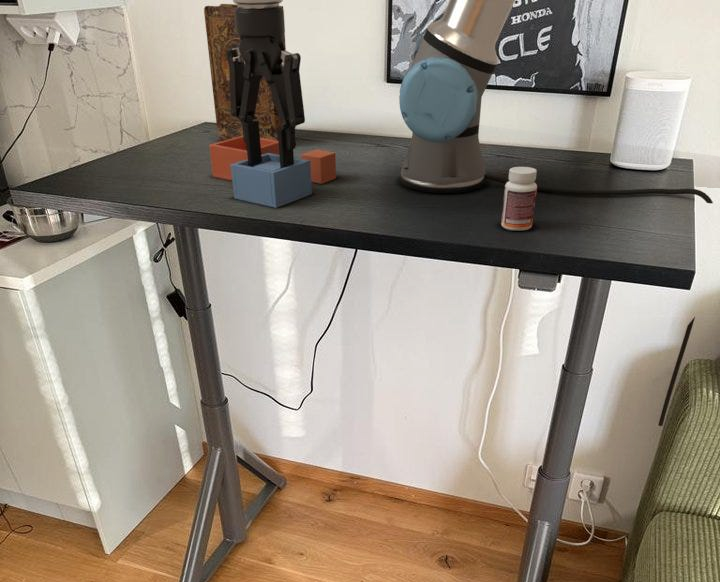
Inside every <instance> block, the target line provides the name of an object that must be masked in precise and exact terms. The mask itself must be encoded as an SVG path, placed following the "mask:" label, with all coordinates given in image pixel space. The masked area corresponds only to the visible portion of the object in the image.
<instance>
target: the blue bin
mask: <svg viewBox="0 0 720 582" xmlns="http://www.w3.org/2000/svg"><path fill="white" fill-rule="evenodd" d="M261 156H262V162H261V163H258V164H255V165H252V166H251V165H248V159H247V160H243V161H240V162H237V163H234V164H231V172H232V181H231V183H232V191H233V197H234V200H240V201H244V202H248V203H253V204H257V205H261V206H265V207H270V208H274V209H276V208H280V207H282V206H285V205H287V204H290V203H292V202H294V201H297V200H300V199H303V198H306V197H308V196H310V195H312V194H313V191H312V190H313V189H312V182H311V165H310V160H305V159H301V158H300V157H294V164H293V165H290V166H287V167H284V168H281V169H278V170H275V171H270V170H265V169H260V168H254V166H257V165H260V164H263V163H266V162H269V161H273V162H279V163H280V156H279V155H277V154H271V153H266V154H263V155H261Z"/></svg>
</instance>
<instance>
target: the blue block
mask: <svg viewBox="0 0 720 582" xmlns="http://www.w3.org/2000/svg"><path fill="white" fill-rule="evenodd" d="M254 168H260V169H265V170H270V171H275V170H278V169H280V163H279V162H273V161H269V162H266V163H263V164H260V165H257V166H254Z"/></svg>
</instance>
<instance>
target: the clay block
mask: <svg viewBox="0 0 720 582" xmlns="http://www.w3.org/2000/svg"><path fill="white" fill-rule="evenodd" d="M300 159H305V160H310V165H311V183H315V184H319V185H323V184H325V183H327V182H331V181H333V180H336V179H337V161H336V152H333V151H328V150H321V149H314V150H309V151H307V152H304V153H301V154H300Z"/></svg>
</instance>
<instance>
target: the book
mask: <svg viewBox="0 0 720 582" xmlns="http://www.w3.org/2000/svg"><path fill="white" fill-rule="evenodd" d="M279 7H282V9H283V10H284V6H283V5H279ZM235 8H238V6H237V4H235V3H221V4H219V5H205V6H204V8H203V13H204V22H205V32H206V40H207V49H208V58H209V68H210V75H211V76H210V78H211V86H212V95H213V96H212V97H213V104H214V105H213V106H214V115H215V122H216V132H217V136H218V138H219V139H220V140H221V141H225V140H229V139H232V138H236V137H240V136H243V130H242V122H241V121H240V119H239V118H237V117H233V116H232V115H231V103H230V78H229V64H228V60H227V57H226V50H227V49H233V48H238V47H239V44H240V37H239V36H238V35H237V33H236V26H235V16H234V10H235ZM283 44H284V46H285V49H287V45H286V32H285V33H284V35H283ZM282 63H283V61H282ZM244 65H245V61H244ZM282 67H283V66H282ZM283 70H284V67H283ZM276 75H277V74H275V75H274V76H276ZM238 108H239V107H238ZM255 116H256V117H257V119H255V120H253V121H259V133H260V138H265V139H270V140H276V141H278V129H279V127H280V126H281V123H280V119H279V116H278V113H277V109H276V106H275V103H274V99H273V96H272V93H271V90H270V86H269V84H268V83H267V82H266V80H265V77H264V76H263V77H262V79H261V80H260V85H259V91H258V97H257V104H256V110H255ZM287 120H288V118H287Z"/></svg>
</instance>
